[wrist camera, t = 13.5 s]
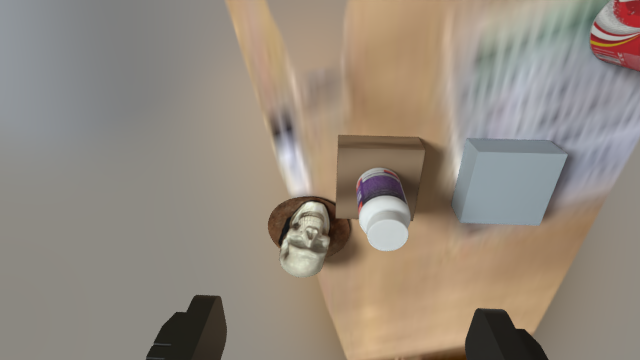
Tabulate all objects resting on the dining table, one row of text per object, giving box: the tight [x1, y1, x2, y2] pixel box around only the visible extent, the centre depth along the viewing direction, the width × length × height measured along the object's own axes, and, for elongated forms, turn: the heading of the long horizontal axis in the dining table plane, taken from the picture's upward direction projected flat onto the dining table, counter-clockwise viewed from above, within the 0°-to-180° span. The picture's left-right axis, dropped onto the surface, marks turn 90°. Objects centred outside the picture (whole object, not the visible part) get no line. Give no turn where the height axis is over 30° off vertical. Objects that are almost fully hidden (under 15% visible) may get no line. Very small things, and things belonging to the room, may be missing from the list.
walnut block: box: [336, 135, 425, 221], centre depth 44 cm, size 10×10×4 cm
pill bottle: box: [356, 168, 411, 251], centre depth 38 cm, size 5×5×10 cm
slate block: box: [451, 138, 568, 225], centre depth 43 cm, size 10×10×4 cm
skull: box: [268, 197, 350, 277], centre depth 49 cm, size 12×10×10 cm
